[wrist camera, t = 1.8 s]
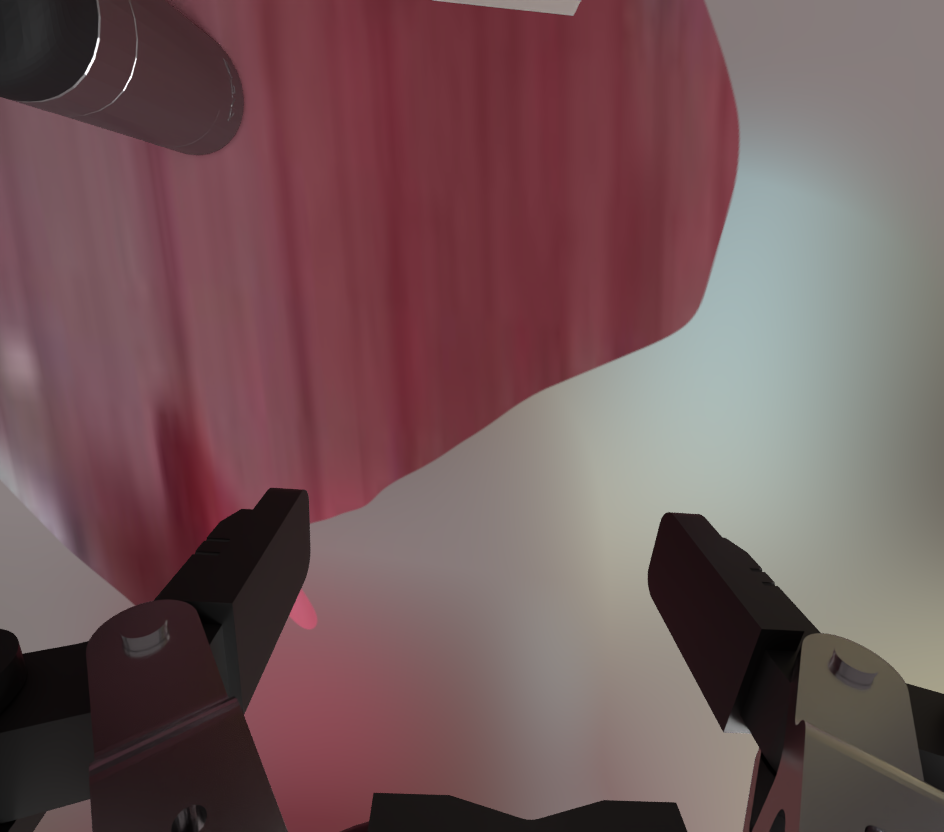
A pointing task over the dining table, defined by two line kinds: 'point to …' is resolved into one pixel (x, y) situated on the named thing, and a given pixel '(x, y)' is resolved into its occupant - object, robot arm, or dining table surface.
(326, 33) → the dining table surface
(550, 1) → the off-white column
